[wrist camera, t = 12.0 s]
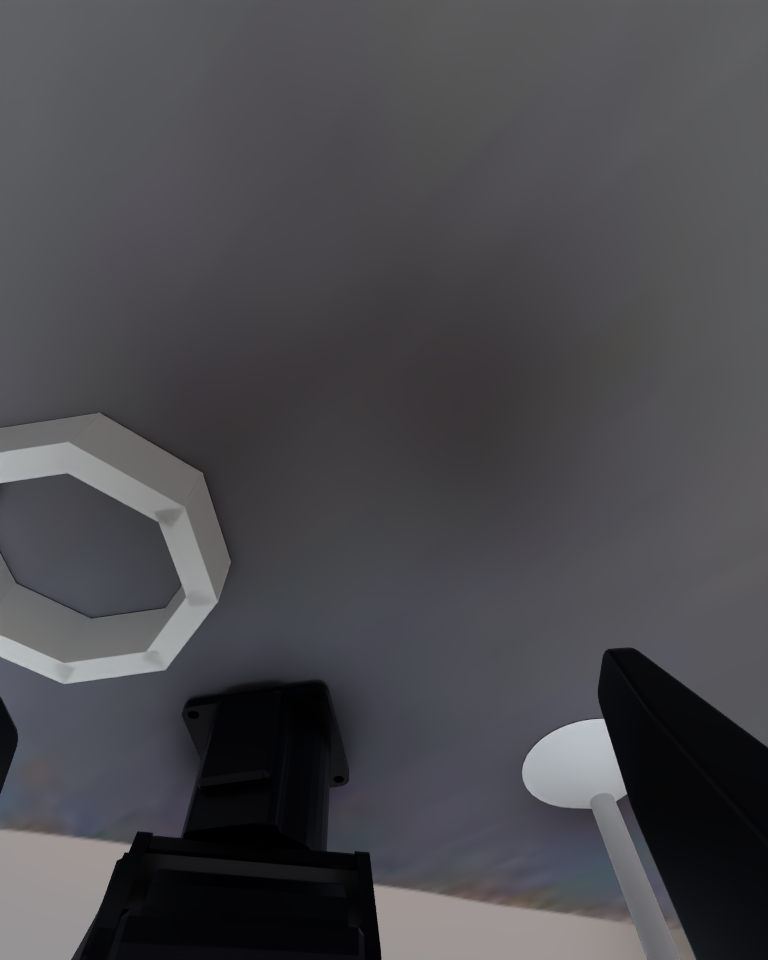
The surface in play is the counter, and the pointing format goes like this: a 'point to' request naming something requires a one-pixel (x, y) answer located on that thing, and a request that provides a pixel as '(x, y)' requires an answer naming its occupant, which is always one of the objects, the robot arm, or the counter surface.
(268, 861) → the robot arm
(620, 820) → the champagne flute
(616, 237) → the counter surface
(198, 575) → the octagonal ring
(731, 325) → the counter surface
